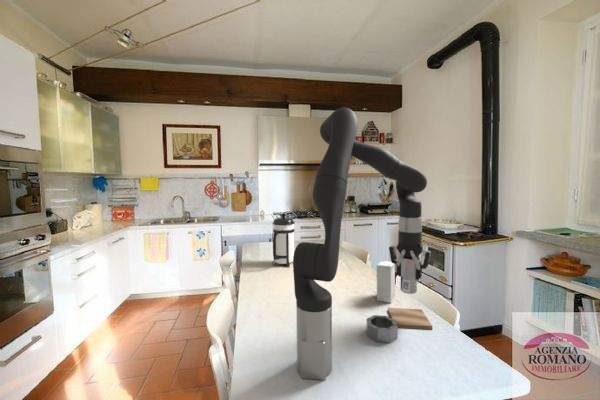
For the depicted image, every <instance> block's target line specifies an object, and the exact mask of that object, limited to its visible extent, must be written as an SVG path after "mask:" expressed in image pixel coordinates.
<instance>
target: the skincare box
mask: <svg viewBox="0 0 600 400" xmlns="http://www.w3.org/2000/svg"><path fill="white" fill-rule="evenodd" d="M395 266H396V264H394V263H392V262H391V261H389V260H388V261H387V260H381V261H380V262H379V263H378V264H377V265H376V300H377V301H378V302H384V303H389V304H391V303H392V301H393V300H394V299H395V297H396V282H395V281H396V274H395V273H396V272H395V268H396V267H395Z"/></svg>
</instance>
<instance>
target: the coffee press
mask: <svg viewBox="0 0 600 400" xmlns="http://www.w3.org/2000/svg"><path fill="white" fill-rule="evenodd" d="M272 225H273V226H272V232H273V234H272V255H273V261H272V263H271V265H272V266H273V267H274V266H276V265H277V264H278V265H279V264H280V265H285V267H286V268H290V264H293V256H294V251H295V221H294V219H293V218H292V217H286V214H285V213H281V216H280V217H276V218H275V219H273V222H272Z"/></svg>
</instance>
